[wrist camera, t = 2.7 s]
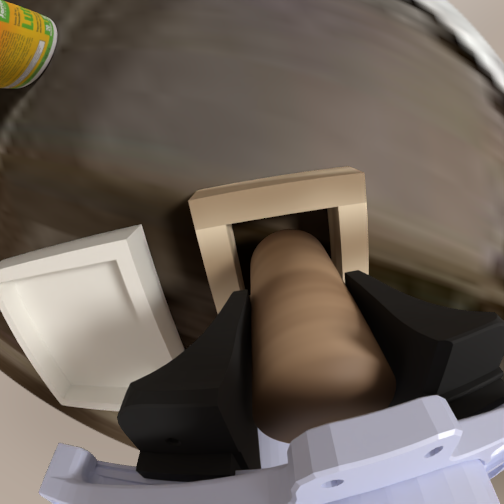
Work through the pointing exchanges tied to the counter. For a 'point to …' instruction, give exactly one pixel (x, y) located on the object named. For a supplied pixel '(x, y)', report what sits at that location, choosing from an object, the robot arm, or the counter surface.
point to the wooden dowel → (309, 341)
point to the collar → (275, 204)
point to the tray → (90, 316)
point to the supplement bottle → (24, 45)
